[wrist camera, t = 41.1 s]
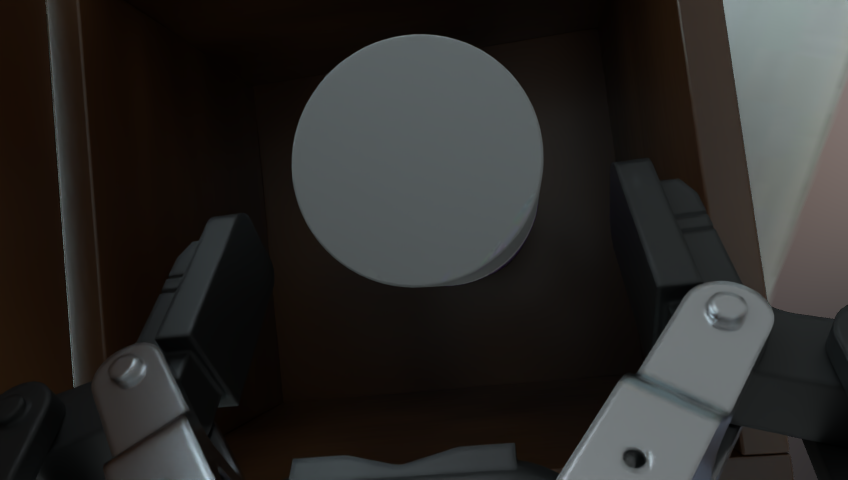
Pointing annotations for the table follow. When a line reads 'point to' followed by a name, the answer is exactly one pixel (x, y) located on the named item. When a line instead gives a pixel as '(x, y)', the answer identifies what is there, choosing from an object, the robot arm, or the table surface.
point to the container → (419, 162)
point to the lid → (30, 209)
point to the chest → (359, 296)
